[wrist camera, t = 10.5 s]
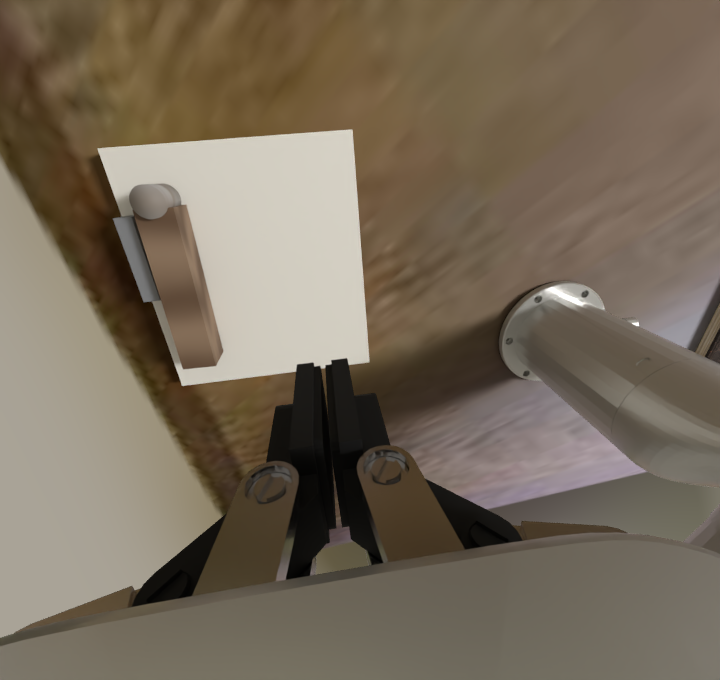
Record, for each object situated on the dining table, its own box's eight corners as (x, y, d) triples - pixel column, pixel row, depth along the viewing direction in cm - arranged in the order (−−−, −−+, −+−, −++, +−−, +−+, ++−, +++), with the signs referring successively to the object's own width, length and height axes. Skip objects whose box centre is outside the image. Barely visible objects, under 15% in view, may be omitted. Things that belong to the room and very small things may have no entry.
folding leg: (142, 184, 28) (120, 185, 25) (180, 182, 28) (163, 183, 25) (192, 354, 35) (180, 373, 32) (223, 351, 35) (214, 369, 32)
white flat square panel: (350, 132, 30) (354, 126, 26) (366, 353, 40) (372, 371, 36) (110, 150, 29) (81, 146, 25) (188, 376, 38) (175, 396, 35)
